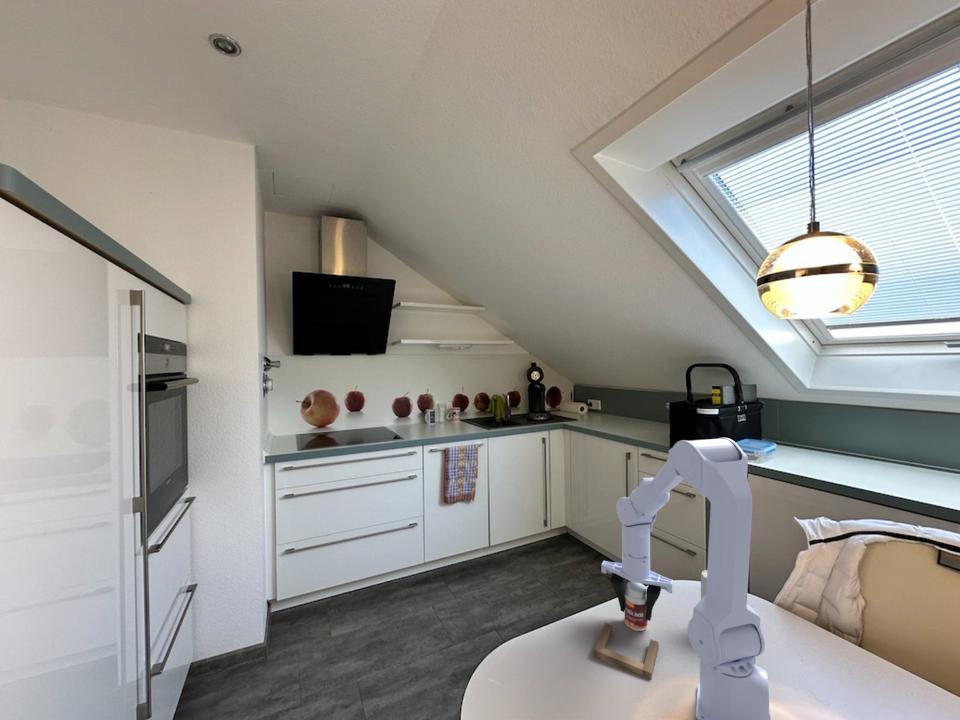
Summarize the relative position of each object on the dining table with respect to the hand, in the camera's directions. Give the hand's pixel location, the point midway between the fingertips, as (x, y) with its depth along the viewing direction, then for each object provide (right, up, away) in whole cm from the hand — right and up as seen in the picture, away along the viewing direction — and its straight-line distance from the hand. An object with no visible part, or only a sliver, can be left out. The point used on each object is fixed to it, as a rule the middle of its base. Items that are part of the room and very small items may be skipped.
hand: (636, 613), depth 84 cm
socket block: (-5, -3, -8) cm, 9 cm away
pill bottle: (0, -3, 0) cm, 3 cm away
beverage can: (+16, -3, -2) cm, 16 cm away
